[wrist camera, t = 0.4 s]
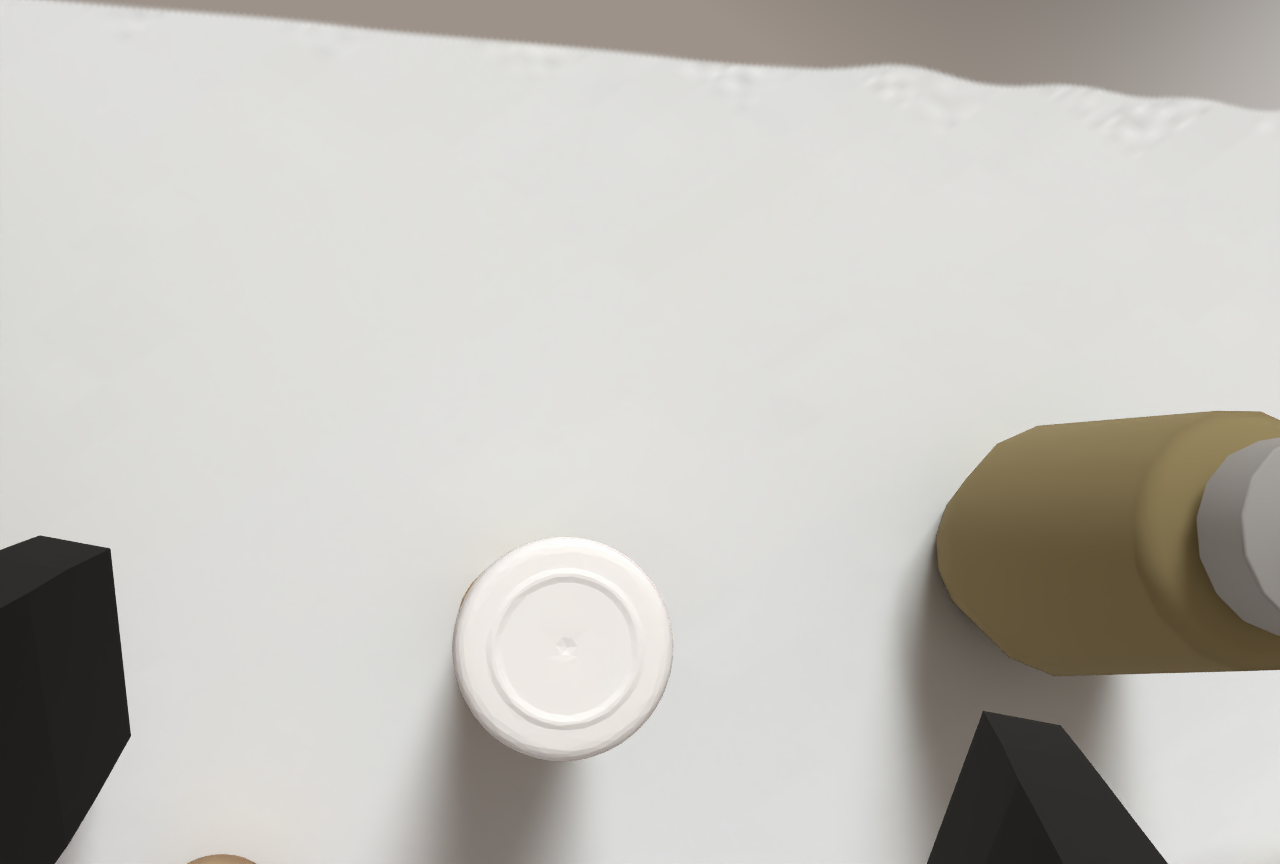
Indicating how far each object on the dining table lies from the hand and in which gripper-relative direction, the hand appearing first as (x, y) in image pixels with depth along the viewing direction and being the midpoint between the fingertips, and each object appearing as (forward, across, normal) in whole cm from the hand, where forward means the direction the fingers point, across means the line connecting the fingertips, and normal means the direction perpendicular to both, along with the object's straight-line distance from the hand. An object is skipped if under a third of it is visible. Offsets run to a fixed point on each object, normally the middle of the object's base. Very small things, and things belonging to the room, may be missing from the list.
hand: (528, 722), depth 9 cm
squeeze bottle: (+27, -13, +13) cm, 32 cm away
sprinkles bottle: (+21, +3, +16) cm, 27 cm away
